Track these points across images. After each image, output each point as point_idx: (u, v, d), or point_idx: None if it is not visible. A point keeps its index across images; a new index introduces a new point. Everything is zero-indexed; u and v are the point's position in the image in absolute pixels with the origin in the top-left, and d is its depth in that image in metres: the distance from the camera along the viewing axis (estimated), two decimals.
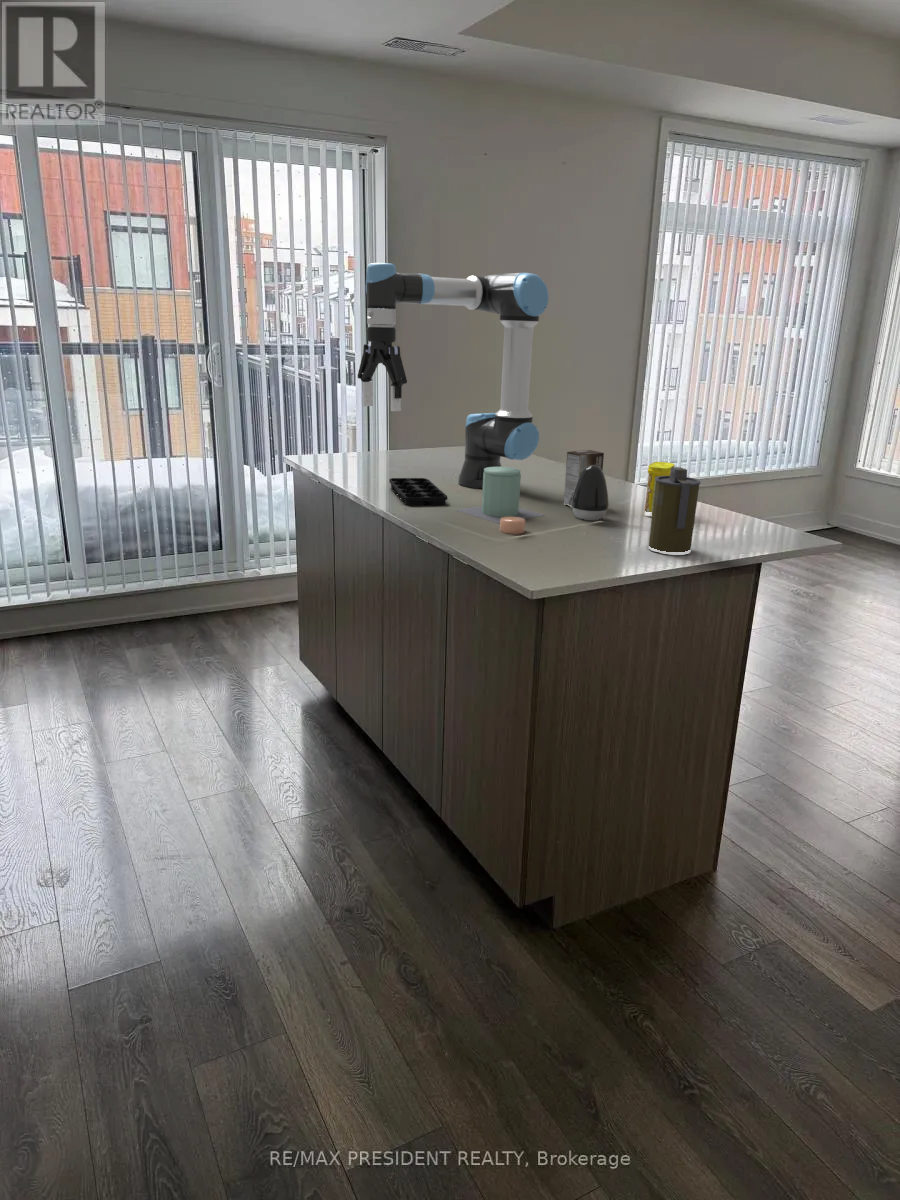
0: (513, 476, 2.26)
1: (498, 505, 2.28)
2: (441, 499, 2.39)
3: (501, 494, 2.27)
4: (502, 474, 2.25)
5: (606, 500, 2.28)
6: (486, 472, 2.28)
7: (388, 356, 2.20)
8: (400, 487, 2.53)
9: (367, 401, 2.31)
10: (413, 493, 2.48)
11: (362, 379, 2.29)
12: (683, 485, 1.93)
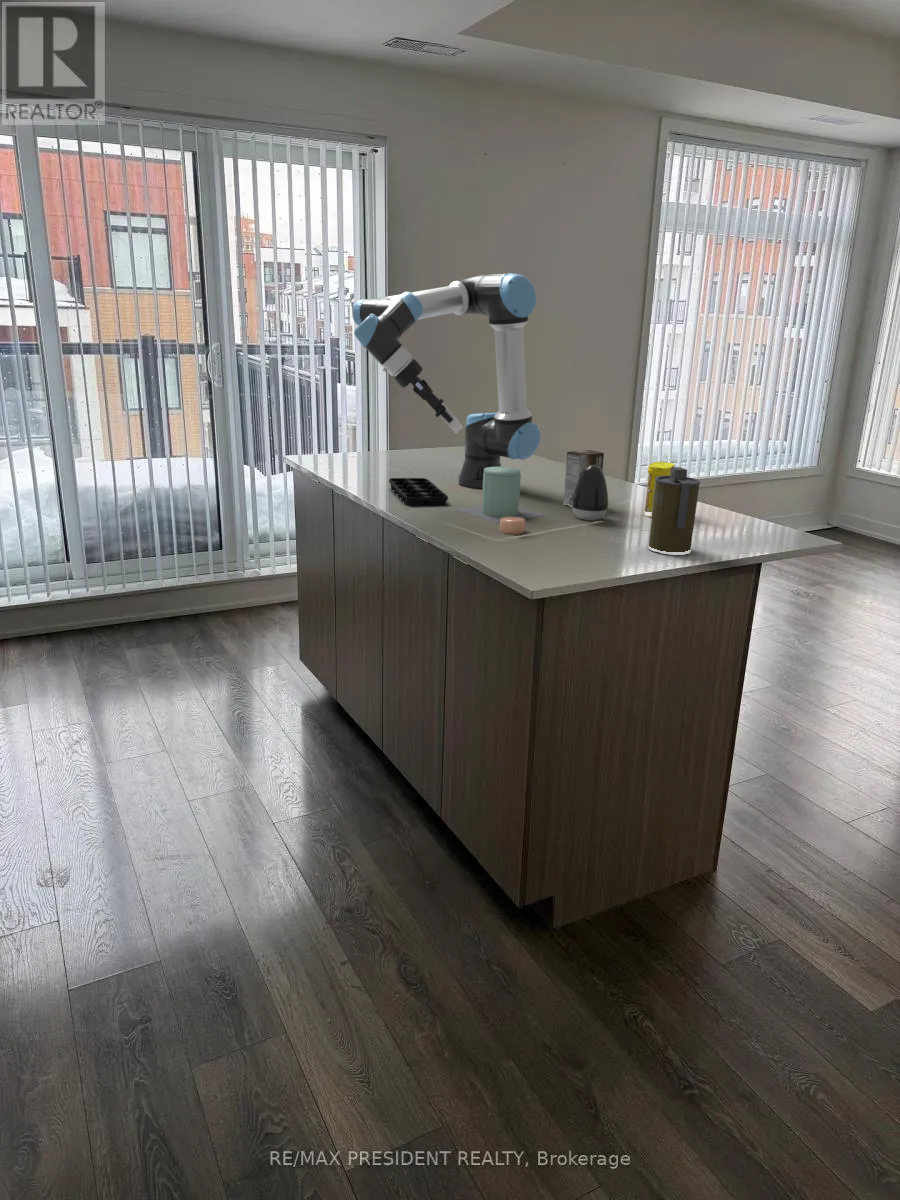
0: (513, 476, 2.26)
1: (498, 505, 2.28)
2: (442, 499, 2.39)
3: (501, 494, 2.27)
4: (502, 474, 2.25)
5: (606, 500, 2.28)
6: (486, 472, 2.28)
7: (423, 389, 2.19)
8: (400, 487, 2.53)
9: None
10: (413, 493, 2.48)
11: None
12: (683, 485, 1.93)
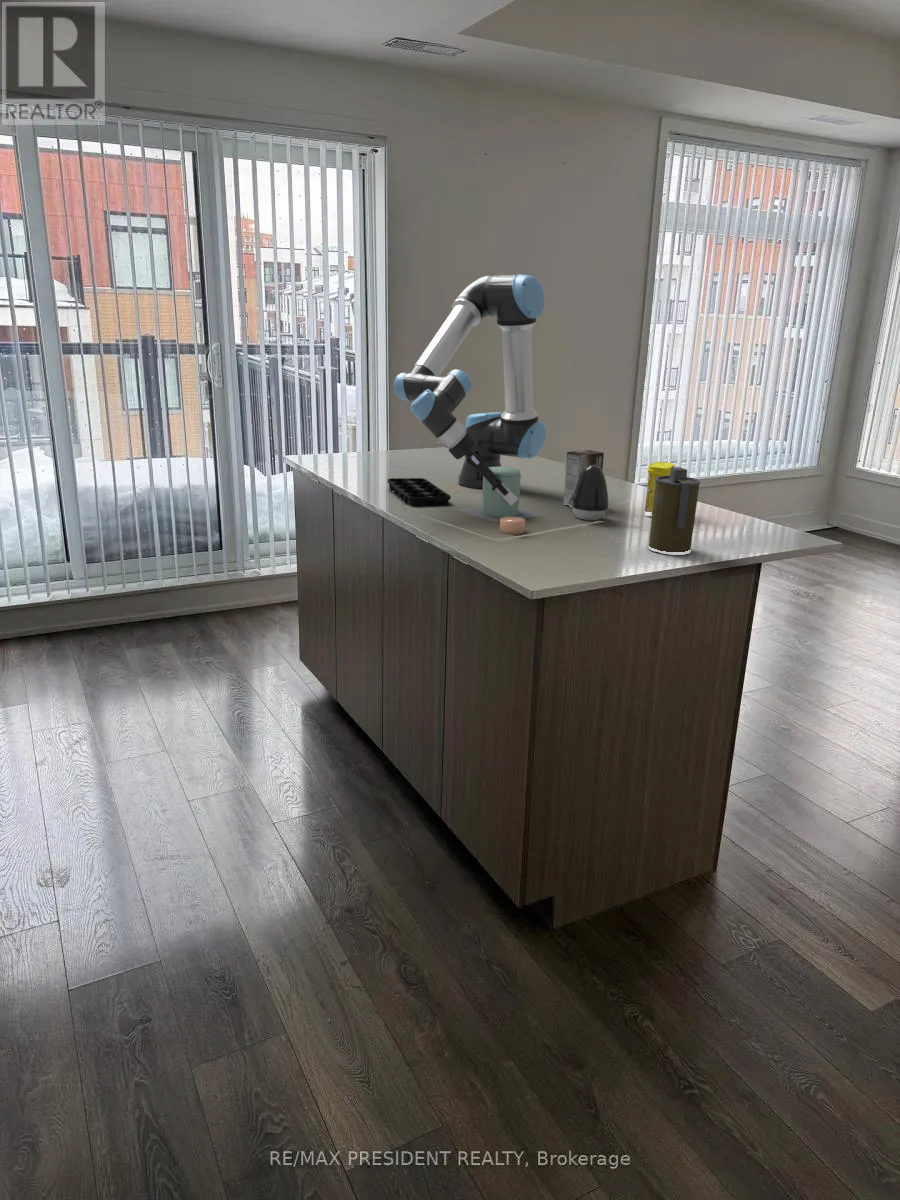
0: (513, 476, 2.26)
1: (498, 505, 2.28)
2: (445, 499, 2.40)
3: None
4: (502, 474, 2.25)
5: (606, 500, 2.28)
6: None
7: None
8: (400, 487, 2.52)
9: None
10: (414, 493, 2.48)
11: None
12: (683, 485, 1.93)
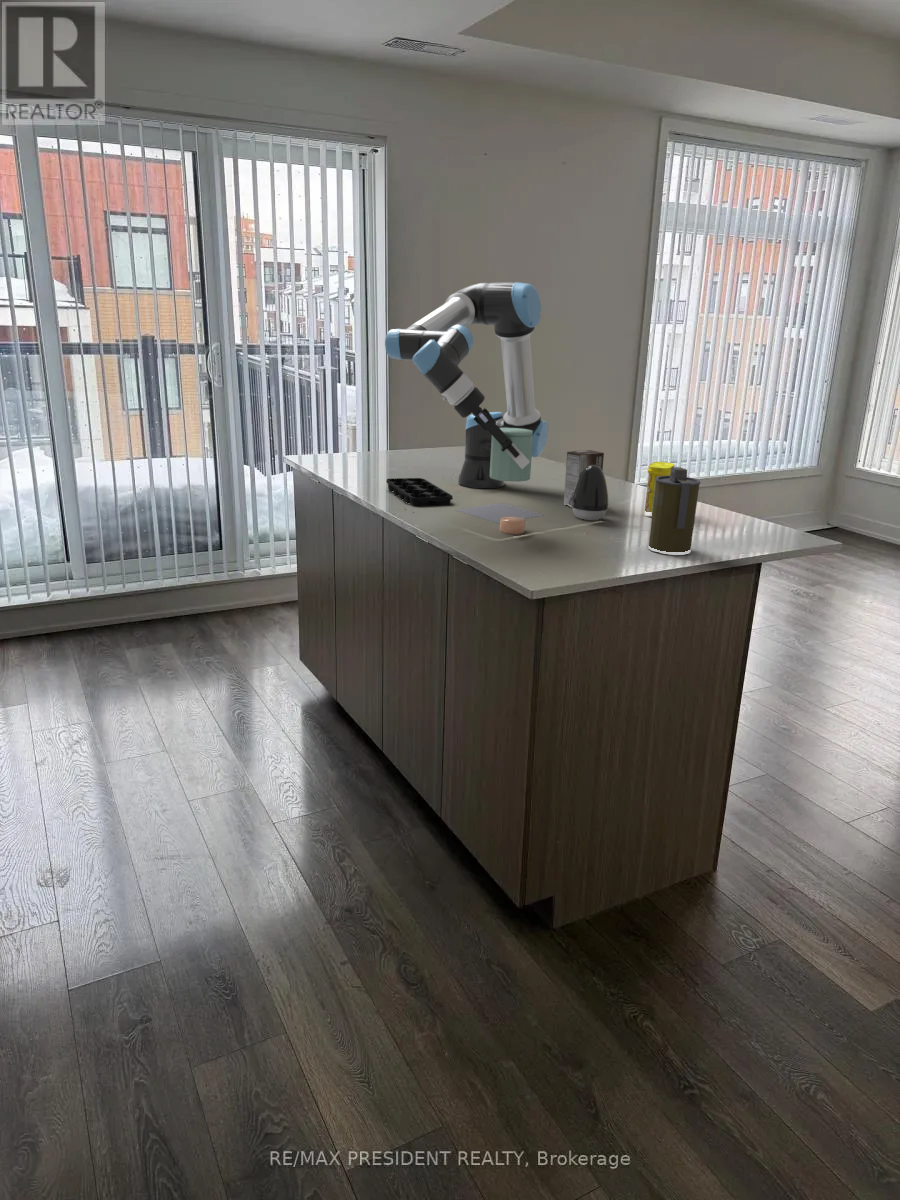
0: (524, 436, 2.05)
1: (508, 468, 2.07)
2: (447, 499, 2.40)
3: None
4: (513, 434, 2.04)
5: (606, 500, 2.28)
6: None
7: (486, 420, 2.05)
8: (401, 487, 2.52)
9: None
10: (415, 493, 2.48)
11: None
12: (683, 485, 1.93)
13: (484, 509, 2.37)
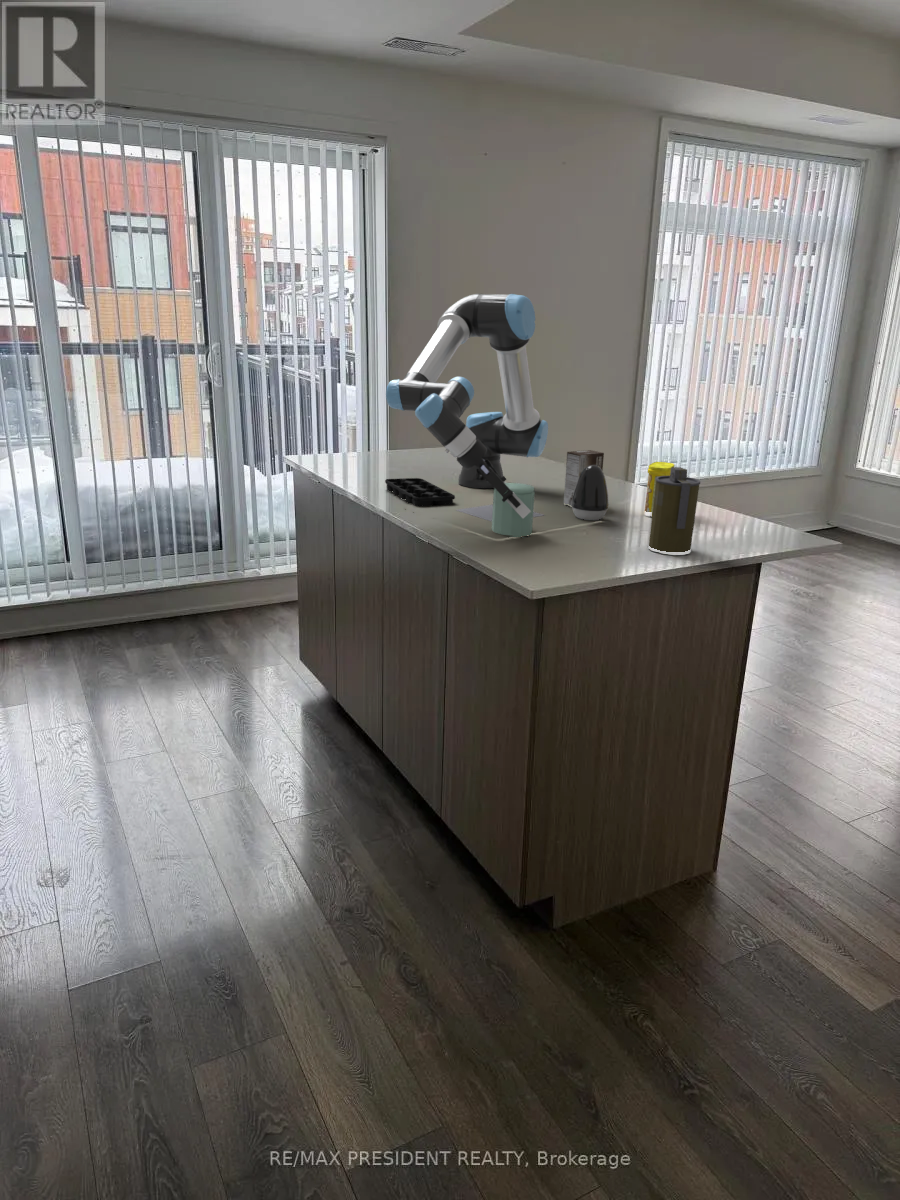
0: (526, 494, 2.08)
1: (510, 525, 2.09)
2: (450, 499, 2.41)
3: (513, 513, 2.08)
4: (514, 492, 2.07)
5: (606, 500, 2.28)
6: None
7: (488, 471, 2.06)
8: (401, 488, 2.52)
9: None
10: (417, 493, 2.48)
11: None
12: (683, 485, 1.93)
13: (484, 509, 2.37)
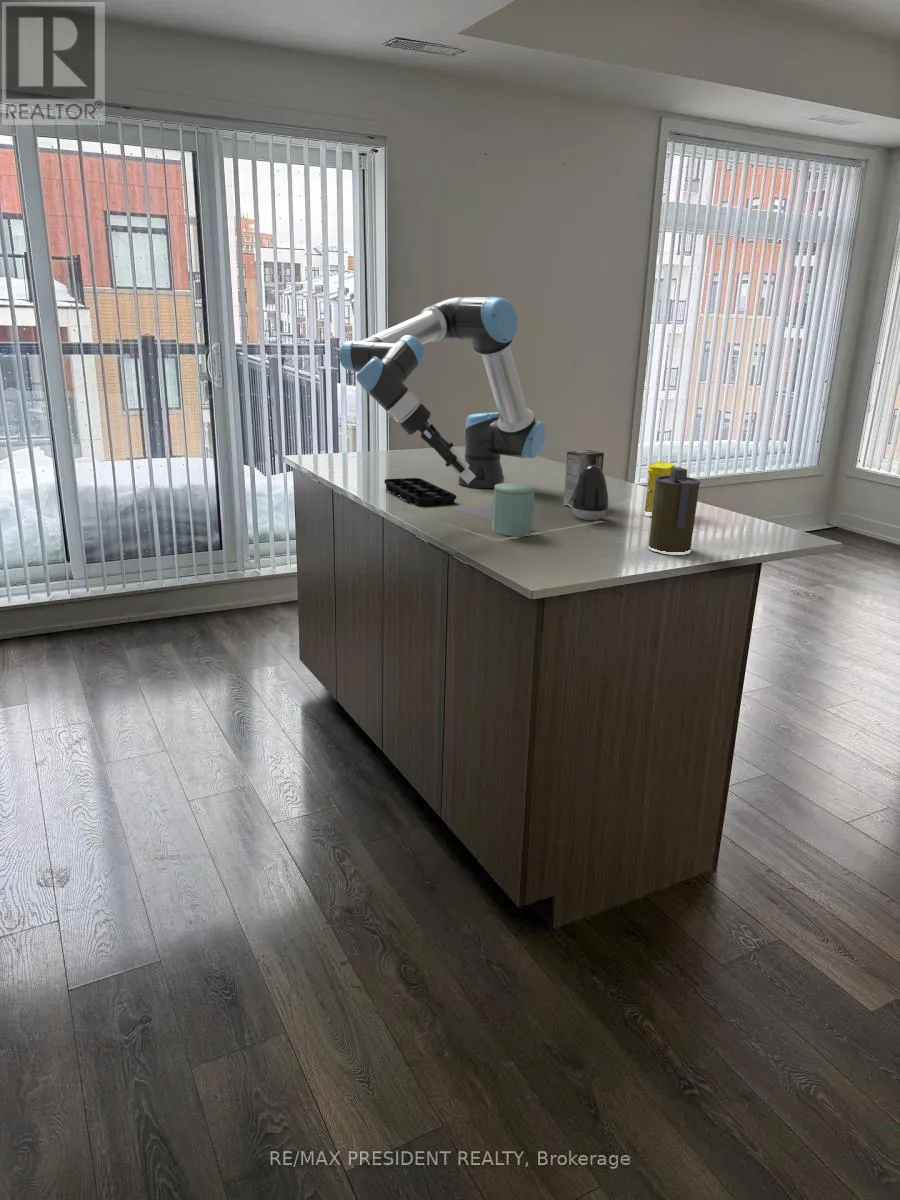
0: (526, 494, 2.08)
1: (510, 525, 2.09)
2: (452, 499, 2.41)
3: (513, 513, 2.08)
4: (514, 492, 2.07)
5: (606, 500, 2.28)
6: (497, 489, 2.09)
7: (432, 436, 2.03)
8: (401, 488, 2.52)
9: None
10: (417, 493, 2.48)
11: None
12: (683, 485, 1.93)
13: (484, 509, 2.37)
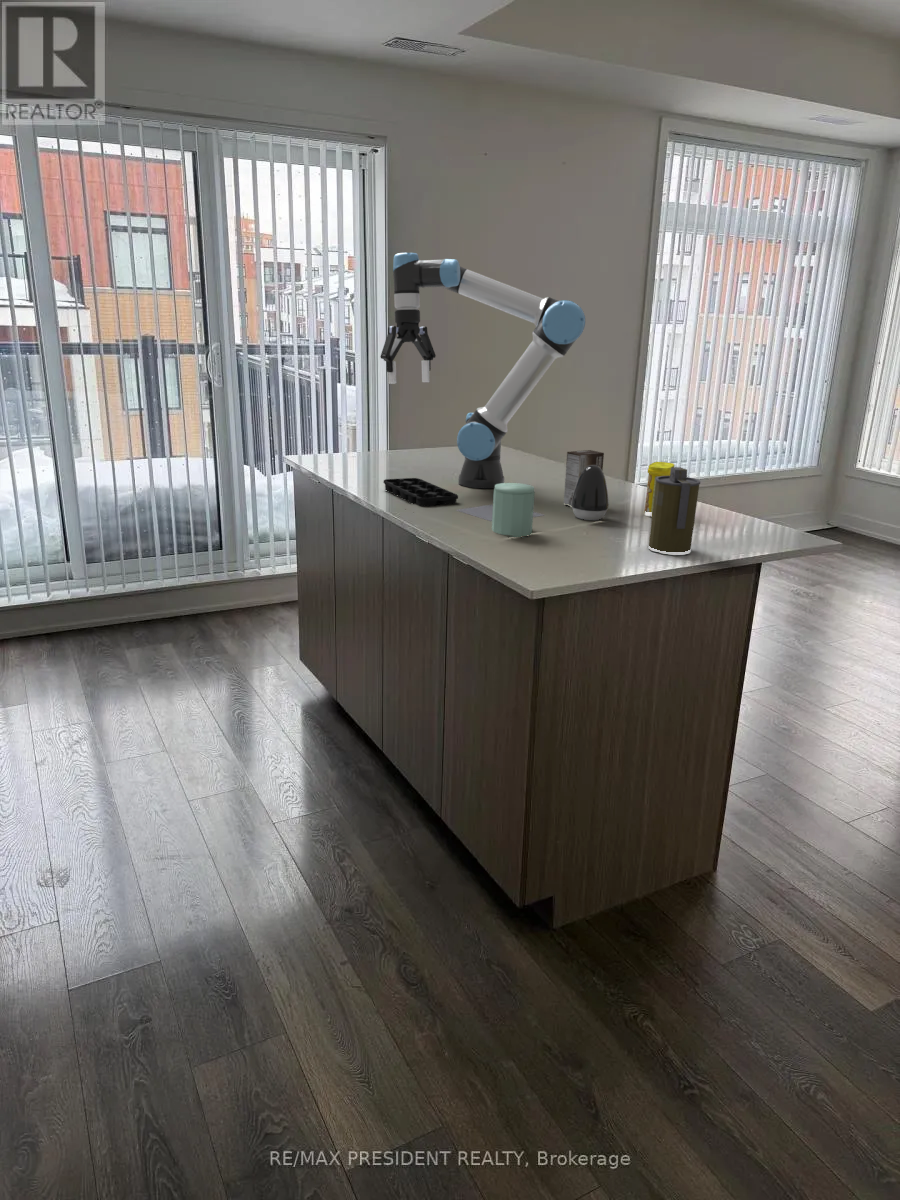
0: (526, 494, 2.08)
1: (510, 525, 2.09)
2: (453, 498, 2.41)
3: (513, 513, 2.08)
4: (514, 492, 2.07)
5: (606, 500, 2.28)
6: (497, 489, 2.09)
7: (401, 335, 2.48)
8: (402, 488, 2.51)
9: (424, 378, 2.58)
10: (418, 493, 2.48)
11: None
12: (683, 485, 1.93)
13: (484, 509, 2.37)
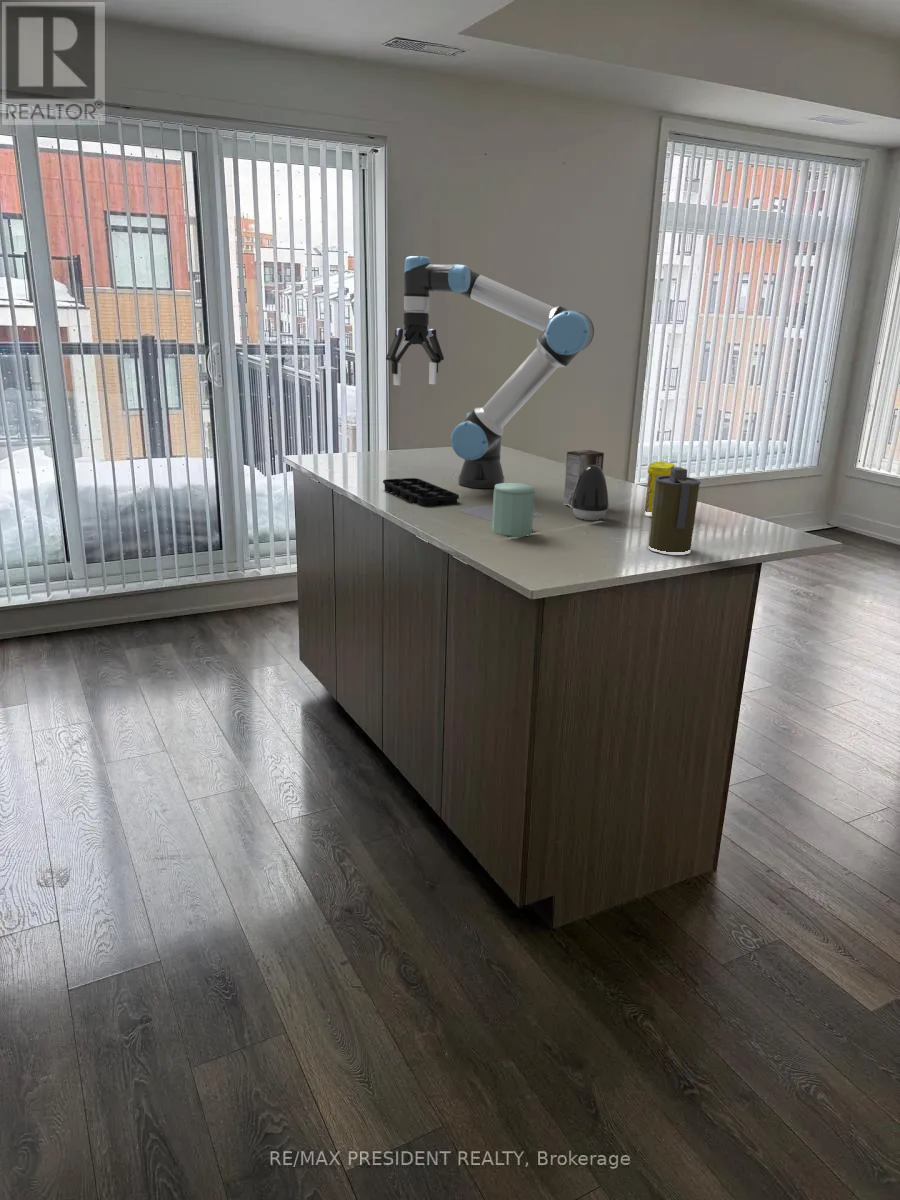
0: (526, 494, 2.08)
1: (510, 525, 2.09)
2: (454, 498, 2.42)
3: (513, 513, 2.08)
4: (514, 492, 2.07)
5: (606, 500, 2.28)
6: (497, 489, 2.09)
7: (408, 338, 2.51)
8: (402, 488, 2.51)
9: (431, 379, 2.61)
10: (419, 493, 2.48)
11: None
12: (683, 485, 1.93)
13: (484, 509, 2.37)
